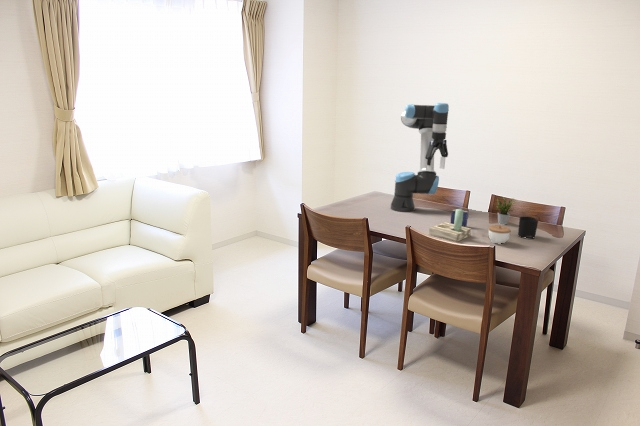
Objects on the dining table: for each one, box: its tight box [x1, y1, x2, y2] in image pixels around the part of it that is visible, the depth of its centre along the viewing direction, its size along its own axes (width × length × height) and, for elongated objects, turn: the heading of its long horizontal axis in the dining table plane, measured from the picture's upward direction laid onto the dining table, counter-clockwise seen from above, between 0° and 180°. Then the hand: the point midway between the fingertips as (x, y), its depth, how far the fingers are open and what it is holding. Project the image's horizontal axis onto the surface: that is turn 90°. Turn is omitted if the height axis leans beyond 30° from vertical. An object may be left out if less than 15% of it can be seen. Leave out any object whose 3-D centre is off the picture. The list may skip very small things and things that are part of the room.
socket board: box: [428, 221, 472, 243], centre depth 276 cm, size 16×16×4 cm
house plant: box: [495, 196, 521, 225], centre depth 300 cm, size 14×14×16 cm
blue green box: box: [450, 207, 469, 228], centre depth 293 cm, size 9×3×11 cm, turn 74°
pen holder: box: [517, 216, 539, 239], centre depth 277 cm, size 9×9×10 cm
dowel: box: [453, 208, 465, 232], centre depth 271 cm, size 4×4×14 cm
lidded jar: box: [488, 224, 511, 245], centre depth 266 cm, size 11×11×9 cm
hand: (435, 169), depth 288 cm, fingers open, 13 cm apart
